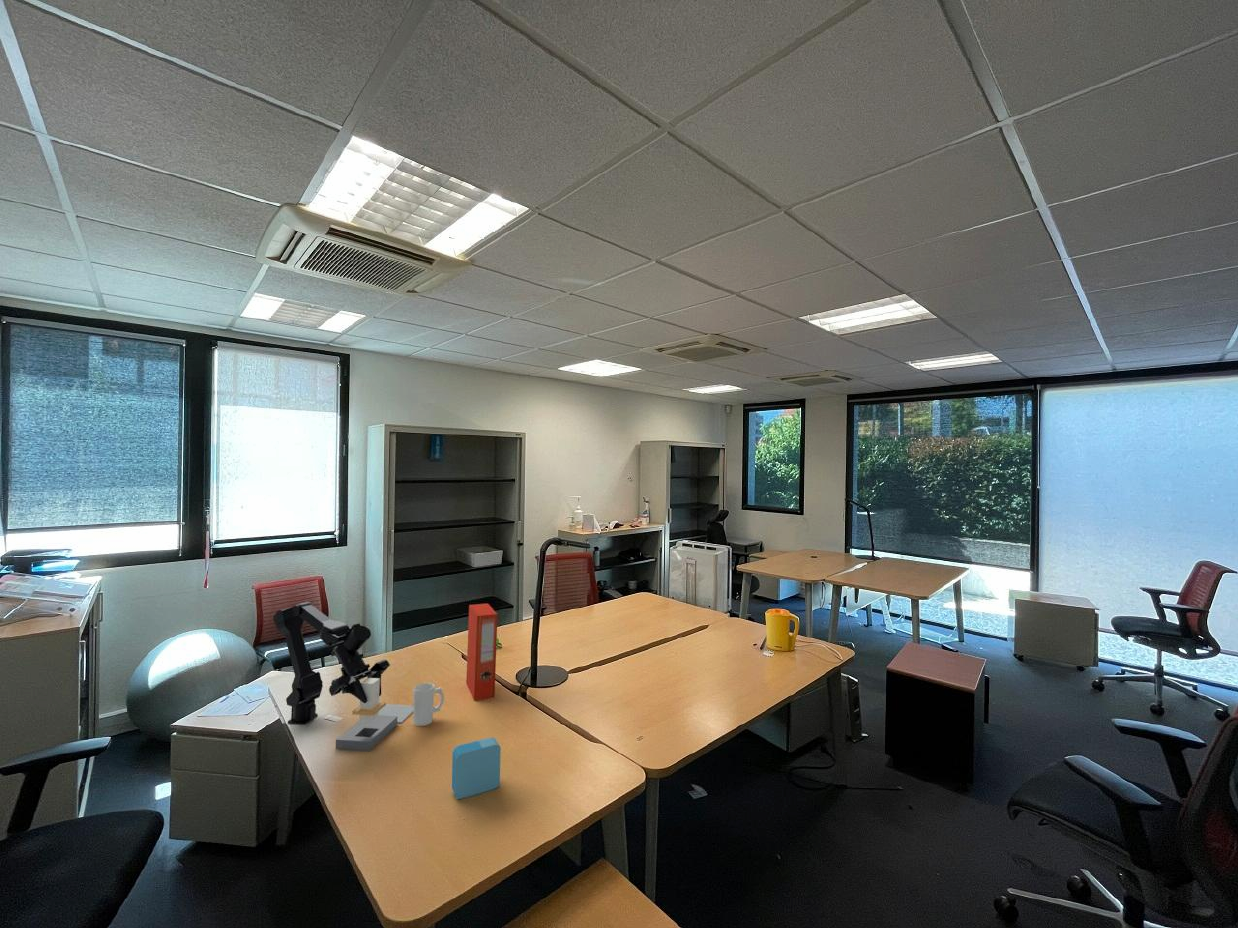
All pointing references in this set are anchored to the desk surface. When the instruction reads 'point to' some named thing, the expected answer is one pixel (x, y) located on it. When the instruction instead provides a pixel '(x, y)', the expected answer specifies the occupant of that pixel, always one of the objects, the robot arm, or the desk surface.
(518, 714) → the desk surface
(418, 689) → the mug
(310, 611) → the robot arm
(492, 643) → the file binder
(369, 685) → the white and tan block
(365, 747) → the gray slab with hole
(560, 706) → the desk surface
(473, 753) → the data package
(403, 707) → the mat
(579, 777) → the desk surface
